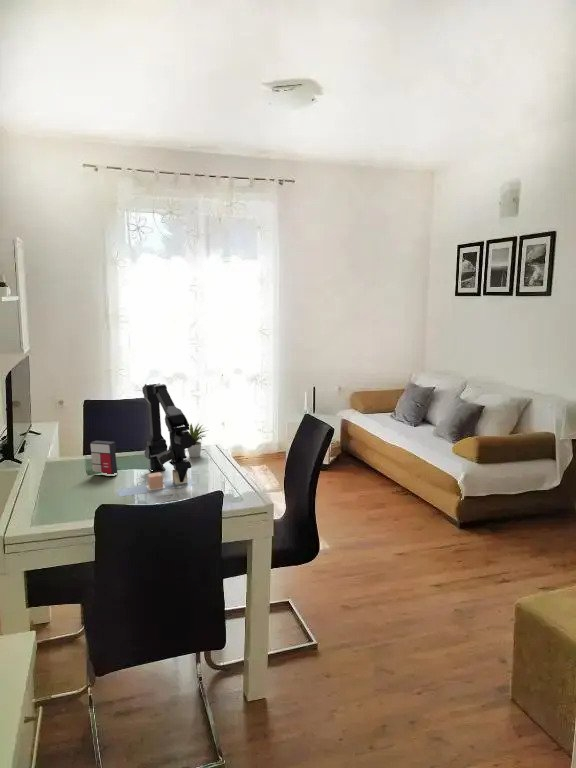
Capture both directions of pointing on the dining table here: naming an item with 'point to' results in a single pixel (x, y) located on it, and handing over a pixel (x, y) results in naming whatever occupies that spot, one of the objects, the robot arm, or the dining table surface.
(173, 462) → the robot arm
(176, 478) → the beech block
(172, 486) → the baseplate
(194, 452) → the house plant
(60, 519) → the dining table surface
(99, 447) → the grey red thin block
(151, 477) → the terracotta block
